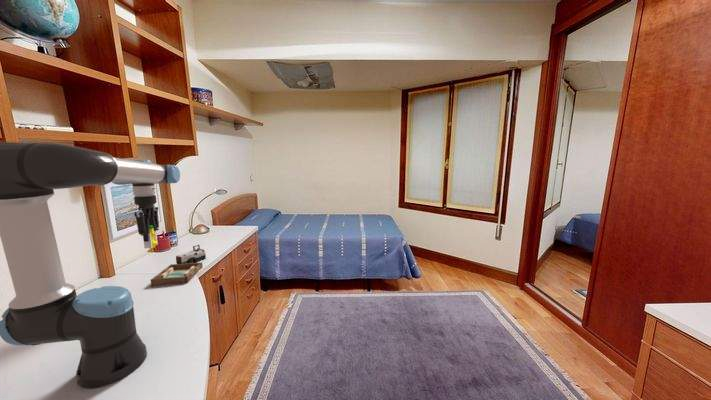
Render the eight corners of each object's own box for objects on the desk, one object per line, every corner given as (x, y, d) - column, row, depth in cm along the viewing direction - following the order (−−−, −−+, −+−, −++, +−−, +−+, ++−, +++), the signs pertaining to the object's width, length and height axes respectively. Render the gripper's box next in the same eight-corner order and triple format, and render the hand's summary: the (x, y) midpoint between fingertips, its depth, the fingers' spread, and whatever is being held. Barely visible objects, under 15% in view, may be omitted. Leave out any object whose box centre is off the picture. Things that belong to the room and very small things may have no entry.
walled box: (187, 283, 128) (187, 277, 127) (151, 286, 125) (150, 279, 125) (202, 268, 146) (202, 262, 146) (171, 270, 144) (170, 264, 143)
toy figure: (139, 253, 114) (137, 226, 112) (142, 250, 118) (141, 224, 116) (157, 252, 116) (156, 226, 115) (160, 249, 120) (159, 224, 118)
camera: (182, 269, 145) (181, 252, 144) (175, 267, 149) (173, 250, 147) (208, 260, 158) (207, 244, 157) (201, 258, 162) (200, 243, 160)
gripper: (143, 197, 106) (149, 252, 110) (164, 192, 122) (169, 240, 126) (122, 198, 104) (129, 253, 108) (146, 193, 121) (152, 241, 124)
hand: (151, 246), depth 117 cm, fingers closed on toy figure, 4 cm apart
